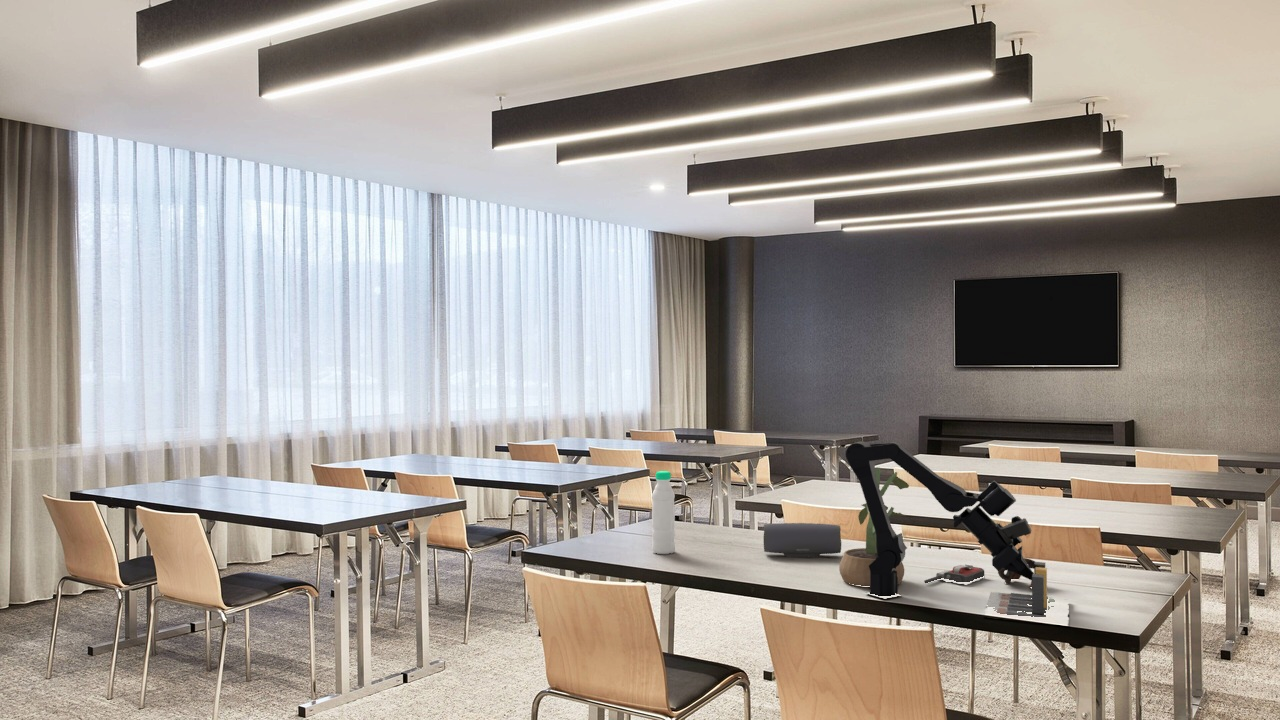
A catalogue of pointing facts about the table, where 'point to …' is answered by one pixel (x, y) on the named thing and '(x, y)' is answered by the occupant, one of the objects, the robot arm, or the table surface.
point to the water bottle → (663, 515)
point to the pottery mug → (1012, 575)
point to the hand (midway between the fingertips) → (1034, 579)
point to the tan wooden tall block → (1044, 572)
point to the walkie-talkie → (960, 574)
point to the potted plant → (868, 544)
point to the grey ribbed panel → (1022, 599)
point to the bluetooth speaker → (802, 539)
